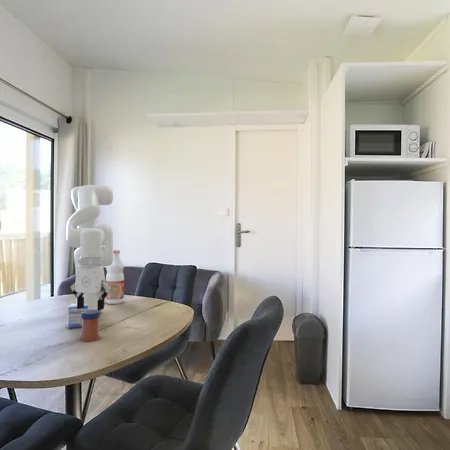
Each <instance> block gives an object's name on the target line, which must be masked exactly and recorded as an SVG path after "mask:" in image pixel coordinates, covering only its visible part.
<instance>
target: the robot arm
mask: <svg viewBox="0 0 450 450" xmlns="http://www.w3.org/2000/svg"><path fill="white" fill-rule="evenodd" d="M70 192H71V193H70V194H71V201H72V205H73V206H74V209H75V212H73V214H72V215H71V216H70V217H69V218H68V220H67V222H66V228H65V229H66V230H65V231H66V232H65V235H66V236H65V240H66V244H67V246H69V247H70V248H76V249H75V250H74V252H73V260H74V266H75V282H74V283H72V285H71V286H70V290H71V291H72V294H73V295H74V296H75V303H70V305H77V309H81V308H83V307H84V304H87V305H88V310H98V311H100V313H101V311H102V310H104V309H105V300H106V296H107V295H108V294H109V292H110V291H111V287H110V286H108V285H107V284H106V276H105V270H104V267H106V266H110V265H111V264H112V262H113V250H114V232H113V228H112V226H111V225H110V224H108V223H97V218H98V217H99V216H100V215H101V209H100V208H101V207H100V206H110V205H112V203H113V201H114V192H113V189H112V187H111V186H109V185H102V184H101V185H100V184H84V185H80V186H74V187H73V188H72V189H71V191H70Z"/></svg>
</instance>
